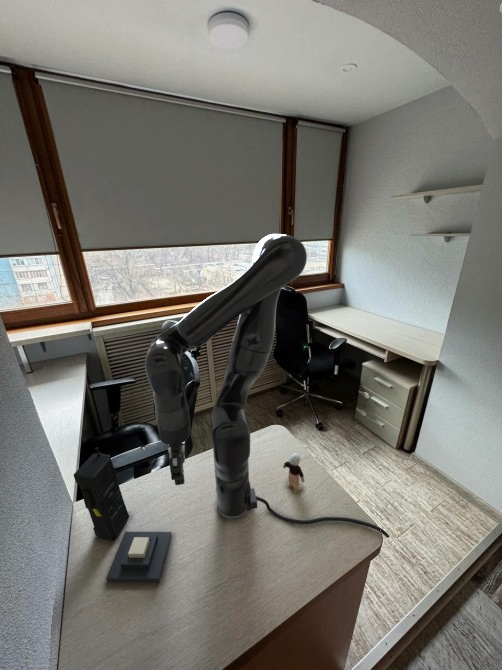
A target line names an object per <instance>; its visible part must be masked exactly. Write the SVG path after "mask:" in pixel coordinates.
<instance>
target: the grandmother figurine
mask: <svg viewBox="0 0 502 670" xmlns="http://www.w3.org/2000/svg"><path fill="white" fill-rule="evenodd" d="M300 461H301V456H300V455H299V454H298V453H292V454H291V455H290V456H289V457H288V460H287V461H285V462H284V463H283V464H282V468H283V469H286V468H288V476H287V477H288V482H287V485H286V486H287V488H288V489H292V488H293V492H294V493H299V492H301V491H302V490H303V487H302V486H301V485H300V481H301V483H305V476H304V472H303V471H302V468H301V467H300V465H299V464H300V463H301V462H300Z"/></svg>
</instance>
